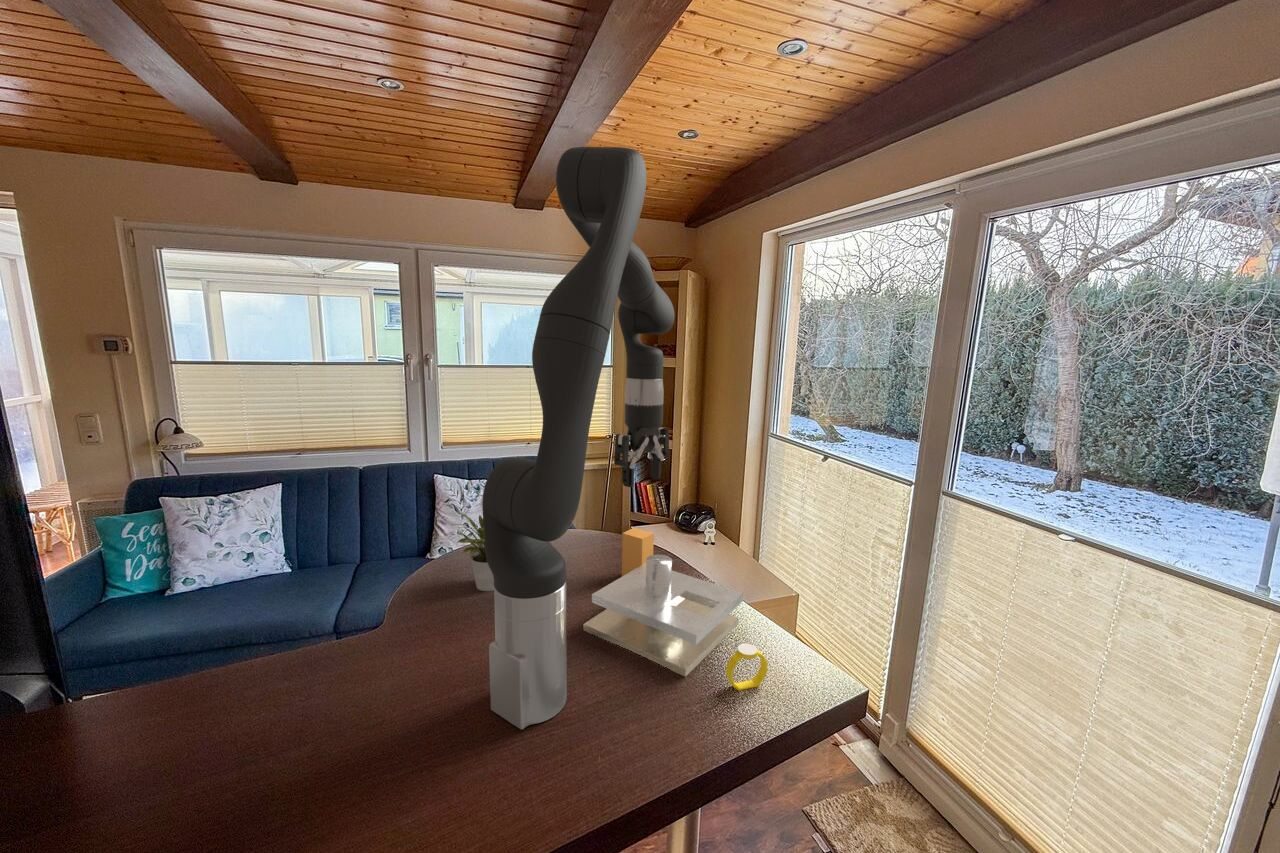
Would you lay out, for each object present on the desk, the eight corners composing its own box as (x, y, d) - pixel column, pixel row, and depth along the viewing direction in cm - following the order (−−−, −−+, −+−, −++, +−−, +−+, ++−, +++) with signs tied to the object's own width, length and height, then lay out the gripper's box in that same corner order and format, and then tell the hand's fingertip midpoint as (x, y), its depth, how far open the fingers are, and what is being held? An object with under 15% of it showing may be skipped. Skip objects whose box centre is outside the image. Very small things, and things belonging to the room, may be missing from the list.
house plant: (446, 574, 106) (443, 498, 103) (513, 563, 112) (512, 491, 109) (452, 606, 93) (449, 520, 91) (528, 592, 99) (527, 511, 96)
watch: (732, 698, 71) (732, 659, 70) (723, 685, 74) (722, 648, 73) (770, 687, 73) (770, 649, 72) (760, 675, 76) (759, 638, 74)
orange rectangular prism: (641, 586, 103) (642, 539, 101) (621, 579, 105) (622, 533, 104) (652, 579, 106) (653, 533, 104) (633, 572, 109) (634, 527, 107)
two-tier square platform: (691, 679, 74) (694, 602, 72) (583, 630, 86) (583, 563, 84) (743, 625, 89) (747, 560, 87) (644, 590, 101) (645, 532, 99)
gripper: (635, 406, 92) (633, 493, 94) (680, 400, 103) (678, 478, 105) (604, 402, 96) (604, 485, 99) (651, 397, 107) (649, 472, 110)
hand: (642, 482), depth 102 cm, fingers open, 8 cm apart
